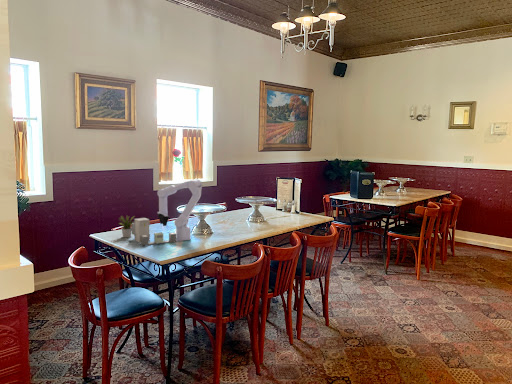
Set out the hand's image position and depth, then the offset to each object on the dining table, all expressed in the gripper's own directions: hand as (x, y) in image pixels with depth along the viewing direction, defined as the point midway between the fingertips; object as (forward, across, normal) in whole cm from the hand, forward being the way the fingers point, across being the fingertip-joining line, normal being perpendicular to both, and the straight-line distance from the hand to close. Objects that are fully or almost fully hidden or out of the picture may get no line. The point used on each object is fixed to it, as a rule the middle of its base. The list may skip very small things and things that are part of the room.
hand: (163, 224), depth 275 cm
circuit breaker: (+10, -1, -16) cm, 19 cm away
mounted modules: (+9, +14, -7) cm, 18 cm away
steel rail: (+9, +14, -7) cm, 18 cm away
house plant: (+10, -13, -24) cm, 29 cm away
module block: (+9, +14, -7) cm, 18 cm away
